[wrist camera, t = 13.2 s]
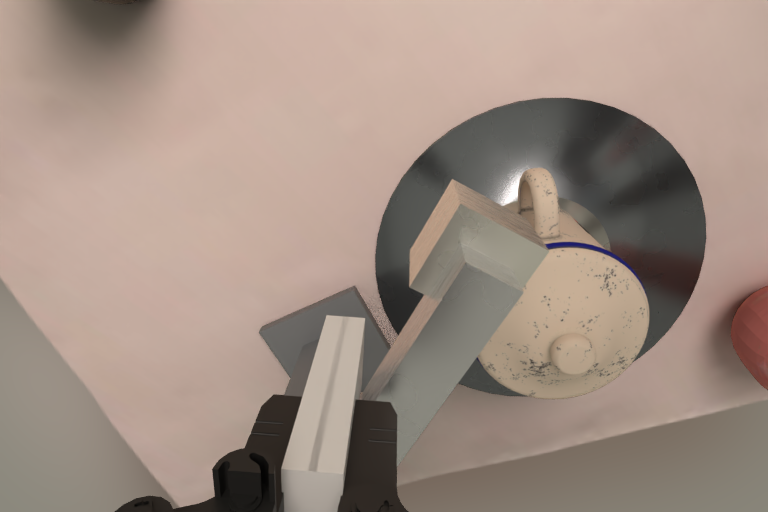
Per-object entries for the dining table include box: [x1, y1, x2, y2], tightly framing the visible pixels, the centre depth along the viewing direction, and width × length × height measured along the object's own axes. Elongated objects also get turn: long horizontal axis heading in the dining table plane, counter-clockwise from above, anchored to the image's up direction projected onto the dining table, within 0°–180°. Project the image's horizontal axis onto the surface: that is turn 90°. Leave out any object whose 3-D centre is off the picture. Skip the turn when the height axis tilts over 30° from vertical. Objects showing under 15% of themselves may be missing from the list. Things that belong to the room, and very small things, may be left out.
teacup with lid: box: [477, 168, 649, 399], centre depth 27 cm, size 12×9×12 cm
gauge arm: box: [360, 179, 549, 466], centre depth 18 cm, size 20×4×5 cm, turn 152°
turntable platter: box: [376, 98, 706, 396], centre depth 33 cm, size 22×22×1 cm
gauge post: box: [259, 286, 391, 397], centre depth 29 cm, size 8×8×17 cm
